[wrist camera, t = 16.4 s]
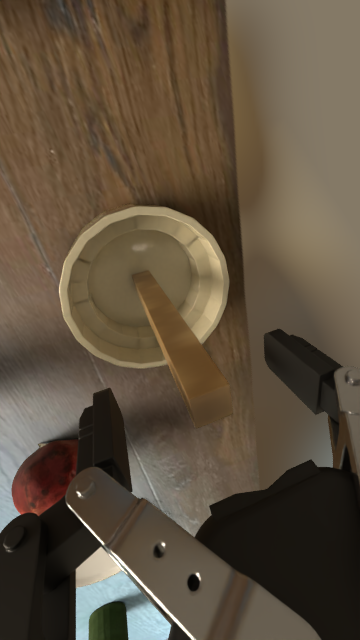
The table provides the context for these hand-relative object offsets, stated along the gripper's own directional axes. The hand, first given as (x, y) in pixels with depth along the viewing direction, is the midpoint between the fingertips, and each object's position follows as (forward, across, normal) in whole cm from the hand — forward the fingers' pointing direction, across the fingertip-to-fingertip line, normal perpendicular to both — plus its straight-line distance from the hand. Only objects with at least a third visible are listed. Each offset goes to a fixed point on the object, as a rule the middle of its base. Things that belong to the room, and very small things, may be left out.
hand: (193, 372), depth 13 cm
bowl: (+16, 0, 0) cm, 16 cm away
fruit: (+16, +16, +19) cm, 30 cm away
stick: (+16, 0, 0) cm, 16 cm away
